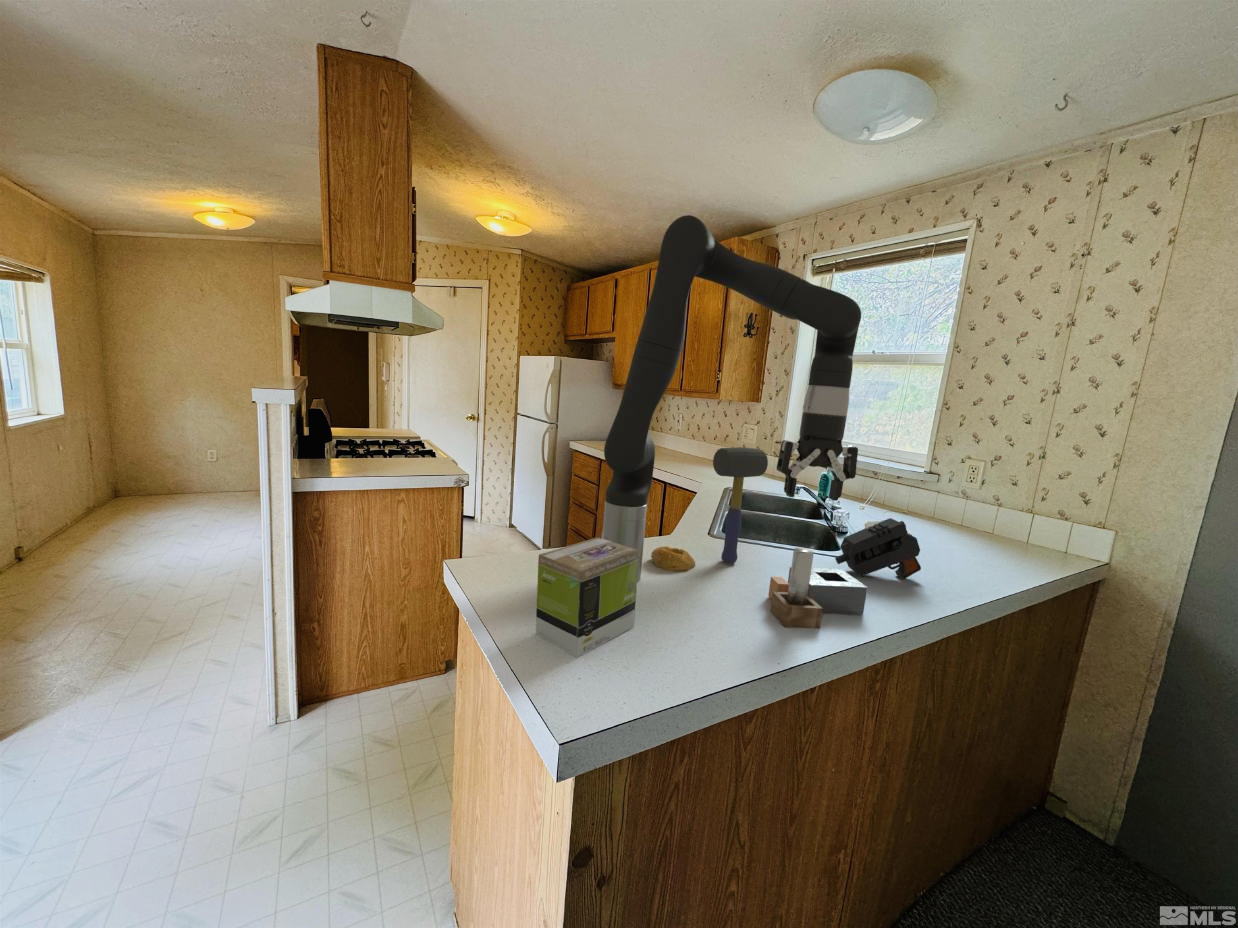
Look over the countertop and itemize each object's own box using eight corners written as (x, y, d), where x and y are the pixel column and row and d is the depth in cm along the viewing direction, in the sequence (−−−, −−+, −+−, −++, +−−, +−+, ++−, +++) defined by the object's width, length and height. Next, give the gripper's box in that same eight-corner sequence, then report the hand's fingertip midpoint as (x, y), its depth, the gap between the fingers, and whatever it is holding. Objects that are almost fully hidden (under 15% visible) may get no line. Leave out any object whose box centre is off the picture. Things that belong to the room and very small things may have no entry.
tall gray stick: (789, 623, 95) (798, 553, 92) (781, 614, 98) (790, 547, 96) (807, 623, 95) (817, 554, 93) (798, 615, 98) (808, 548, 96)
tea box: (593, 609, 94) (598, 534, 92) (635, 628, 88) (642, 549, 85) (532, 636, 82) (537, 551, 80) (575, 660, 76) (582, 569, 74)
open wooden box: (784, 626, 93) (787, 606, 92) (770, 610, 100) (772, 591, 99) (819, 628, 93) (822, 608, 93) (803, 611, 100) (805, 593, 100)
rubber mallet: (716, 570, 120) (730, 448, 115) (699, 560, 127) (712, 444, 122) (757, 567, 125) (772, 450, 120) (739, 557, 132) (752, 445, 127)
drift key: (775, 603, 102) (778, 583, 102) (768, 595, 106) (770, 576, 106) (818, 605, 103) (821, 585, 102) (810, 597, 107) (812, 578, 106)
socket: (806, 612, 100) (810, 584, 99) (786, 592, 110) (789, 566, 109) (862, 614, 101) (867, 587, 100) (837, 594, 111) (841, 569, 110)
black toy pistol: (930, 573, 122) (910, 518, 120) (856, 601, 123) (835, 548, 121) (916, 564, 128) (897, 512, 126) (845, 591, 129) (826, 541, 127)
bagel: (699, 575, 117) (701, 555, 116) (653, 573, 116) (655, 553, 115) (689, 560, 127) (691, 542, 126) (647, 558, 125) (649, 540, 125)
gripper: (796, 409, 86) (783, 500, 88) (873, 416, 87) (858, 505, 90) (779, 407, 93) (767, 491, 96) (850, 414, 95) (837, 496, 97)
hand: (811, 498), depth 93 cm, fingers open, 8 cm apart
